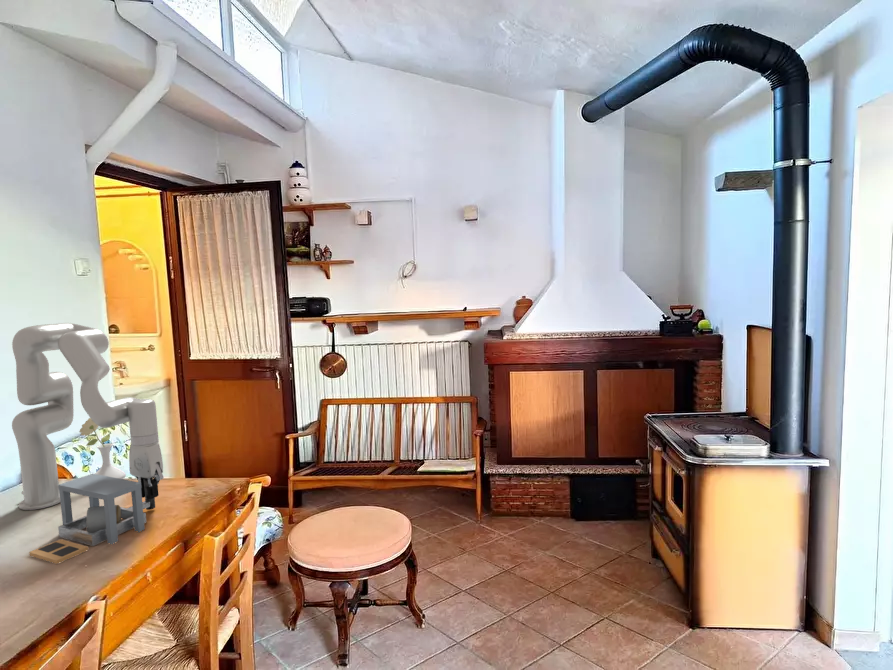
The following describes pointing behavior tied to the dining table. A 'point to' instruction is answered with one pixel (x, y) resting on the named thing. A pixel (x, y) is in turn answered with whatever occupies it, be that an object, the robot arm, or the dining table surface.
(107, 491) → the grey side table
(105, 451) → the flower in vase
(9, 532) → the dining table surface
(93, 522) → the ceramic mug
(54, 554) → the board
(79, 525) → the grey open frame
